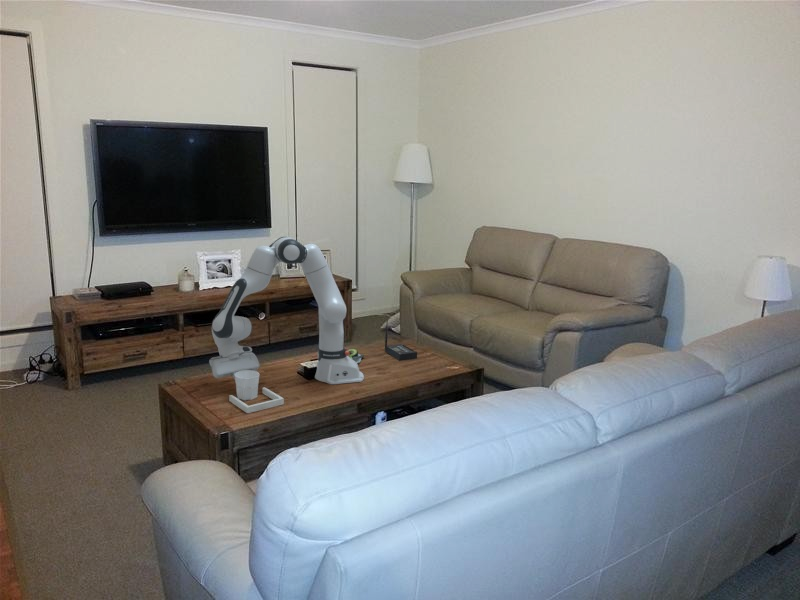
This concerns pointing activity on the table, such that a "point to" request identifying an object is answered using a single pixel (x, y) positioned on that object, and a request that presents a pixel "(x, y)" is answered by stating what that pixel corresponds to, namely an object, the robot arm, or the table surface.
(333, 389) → the table surface
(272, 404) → the white u-shaped frame
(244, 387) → the cup
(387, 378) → the table surface
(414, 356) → the wifi router
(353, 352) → the salad plate
